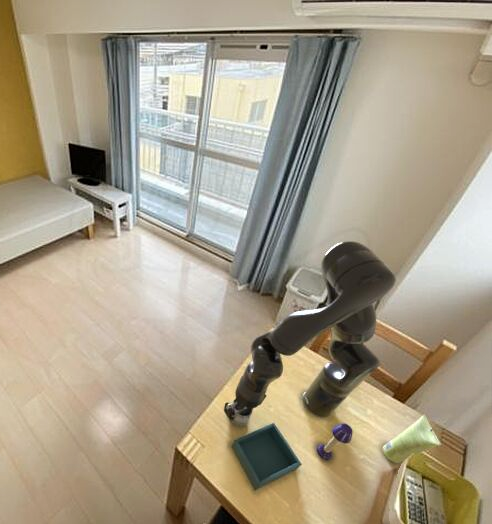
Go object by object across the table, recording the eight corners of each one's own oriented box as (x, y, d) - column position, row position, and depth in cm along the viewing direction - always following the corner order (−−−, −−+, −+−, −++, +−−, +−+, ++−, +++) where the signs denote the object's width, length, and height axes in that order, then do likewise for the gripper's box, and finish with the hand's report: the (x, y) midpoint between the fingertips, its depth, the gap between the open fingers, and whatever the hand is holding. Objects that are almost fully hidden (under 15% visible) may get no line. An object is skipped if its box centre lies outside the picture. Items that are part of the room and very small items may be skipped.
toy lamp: (311, 446, 93) (333, 424, 82) (322, 440, 94) (345, 417, 83) (324, 462, 89) (349, 441, 79) (335, 455, 91) (361, 434, 80)
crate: (269, 429, 96) (273, 422, 93) (295, 470, 88) (302, 464, 84) (230, 446, 93) (234, 440, 89) (254, 491, 84) (259, 485, 80)
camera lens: (240, 431, 96) (245, 420, 91) (224, 416, 100) (228, 405, 95) (251, 417, 99) (256, 407, 94) (235, 403, 103) (240, 392, 98)
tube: (406, 458, 90) (449, 433, 78) (399, 469, 88) (441, 445, 75) (386, 441, 94) (424, 414, 81) (378, 451, 92) (416, 425, 79)
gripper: (238, 409, 83) (227, 433, 93) (279, 392, 87) (264, 417, 97) (223, 385, 88) (214, 410, 99) (263, 370, 92) (250, 396, 103)
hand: (239, 413), depth 98 cm, fingers closed on camera lens, 6 cm apart
